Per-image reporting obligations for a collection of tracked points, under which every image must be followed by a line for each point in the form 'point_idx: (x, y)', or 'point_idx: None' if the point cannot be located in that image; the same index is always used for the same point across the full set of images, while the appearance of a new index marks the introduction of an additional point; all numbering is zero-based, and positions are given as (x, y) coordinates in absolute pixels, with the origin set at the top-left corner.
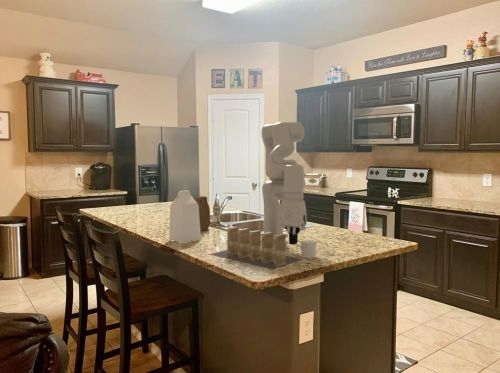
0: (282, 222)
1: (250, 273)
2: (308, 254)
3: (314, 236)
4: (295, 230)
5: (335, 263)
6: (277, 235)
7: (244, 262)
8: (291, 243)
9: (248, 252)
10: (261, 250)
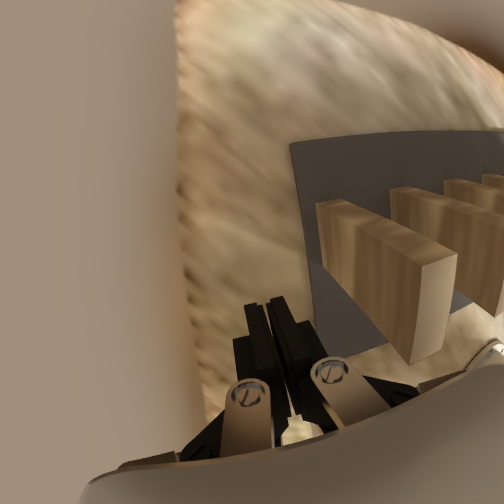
0: (487, 403)
1: (318, 39)
2: None
3: None
4: (221, 431)
5: (210, 421)
6: (442, 290)
7: (445, 133)
8: (255, 305)
9: None
10: (448, 197)
